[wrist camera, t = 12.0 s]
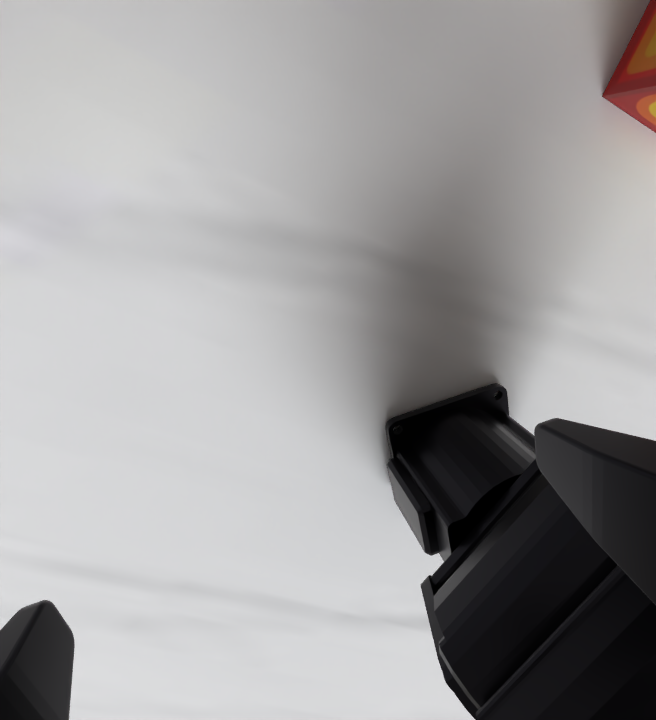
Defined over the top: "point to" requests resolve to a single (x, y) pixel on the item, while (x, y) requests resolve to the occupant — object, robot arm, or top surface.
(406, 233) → the top surface
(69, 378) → the top surface
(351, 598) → the top surface
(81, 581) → the top surface
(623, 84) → the baking soda box
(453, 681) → the robot arm
